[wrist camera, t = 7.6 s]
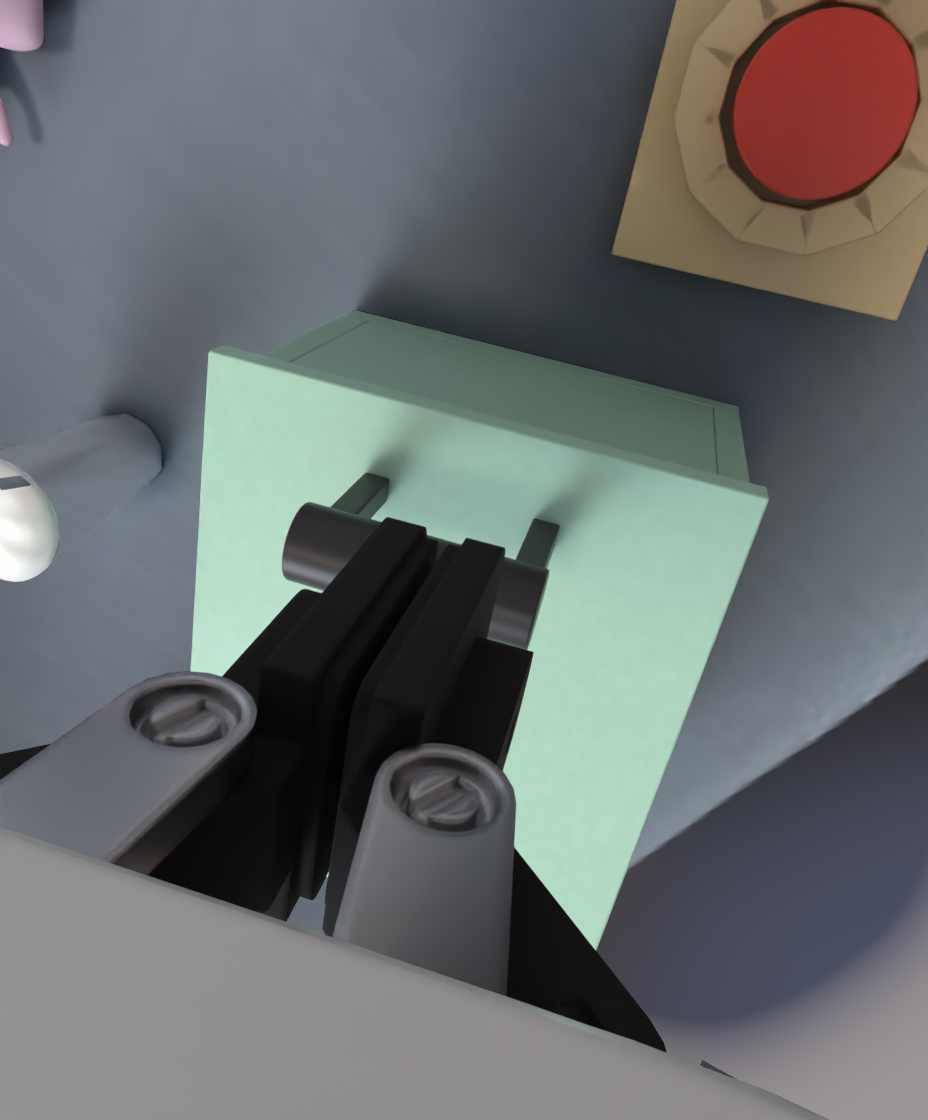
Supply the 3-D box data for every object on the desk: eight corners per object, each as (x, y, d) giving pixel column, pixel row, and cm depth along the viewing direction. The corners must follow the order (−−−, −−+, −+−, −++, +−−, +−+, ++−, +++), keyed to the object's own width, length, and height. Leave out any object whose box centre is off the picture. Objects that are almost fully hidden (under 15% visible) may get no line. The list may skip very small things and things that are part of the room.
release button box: (708, -113, 25) (710, -150, 22) (1036, -55, 24) (1086, -84, 21) (615, 249, 30) (605, 261, 27) (887, 312, 28) (909, 332, 25)
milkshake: (209, 442, 36) (52, 537, 28) (141, 519, 39) (-23, 629, 30) (126, 361, 36) (-61, 431, 27) (63, 444, 38) (-128, 533, 29)
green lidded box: (355, 309, 33) (221, 373, 23) (738, 406, 31) (756, 515, 22) (309, 658, 40) (193, 811, 31) (617, 753, 38) (593, 945, 29)
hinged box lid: (222, 343, 23) (93, 397, 18) (767, 487, 21) (789, 589, 16) (192, 812, 31) (96, 940, 26) (592, 947, 29) (571, 1111, 24)
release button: (763, 0, 23) (767, -10, 22) (932, 33, 23) (949, 25, 21) (710, 178, 25) (711, 180, 24) (865, 212, 25) (876, 216, 23)
